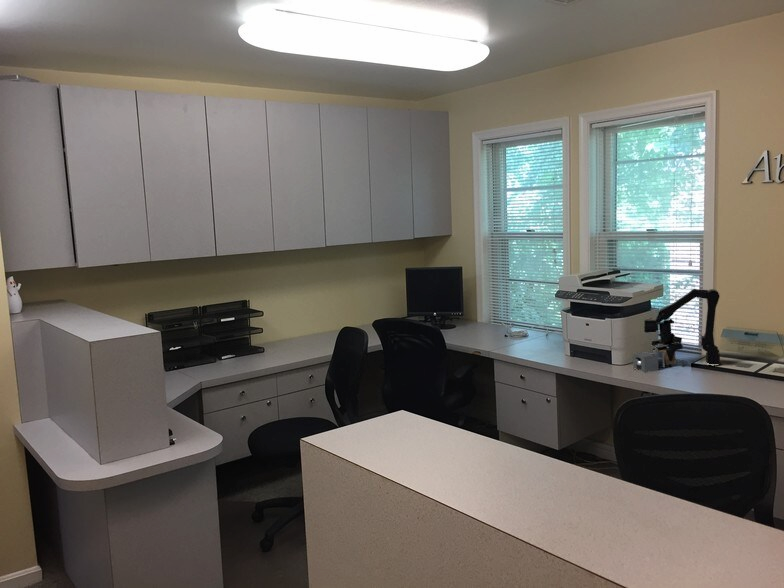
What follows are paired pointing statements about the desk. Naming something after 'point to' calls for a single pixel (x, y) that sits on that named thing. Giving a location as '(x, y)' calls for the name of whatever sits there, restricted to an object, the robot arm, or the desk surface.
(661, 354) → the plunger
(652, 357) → the gauge frame
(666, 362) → the pusher block
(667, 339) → the robot arm
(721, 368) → the desk surface
